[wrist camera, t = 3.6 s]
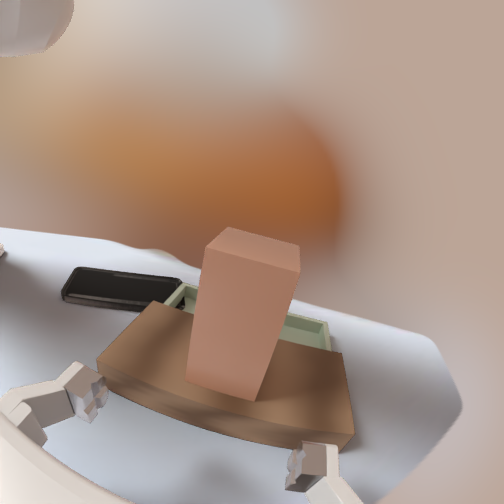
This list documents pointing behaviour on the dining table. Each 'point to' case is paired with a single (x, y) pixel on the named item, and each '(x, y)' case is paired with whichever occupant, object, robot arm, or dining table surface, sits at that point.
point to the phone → (118, 289)
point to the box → (292, 329)
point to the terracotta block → (240, 311)
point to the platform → (226, 406)
